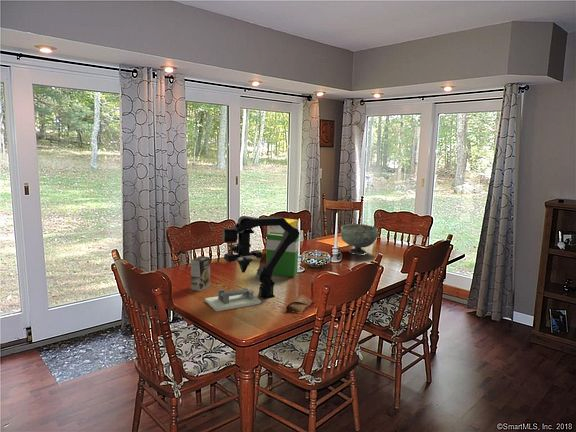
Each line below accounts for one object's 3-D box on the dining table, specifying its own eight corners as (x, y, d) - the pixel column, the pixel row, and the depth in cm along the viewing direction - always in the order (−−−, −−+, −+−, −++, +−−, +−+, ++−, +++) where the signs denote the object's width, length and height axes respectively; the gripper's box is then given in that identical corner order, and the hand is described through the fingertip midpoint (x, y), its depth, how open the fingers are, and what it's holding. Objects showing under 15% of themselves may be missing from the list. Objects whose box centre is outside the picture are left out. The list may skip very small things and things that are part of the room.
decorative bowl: (375, 249, 321) (376, 223, 318) (378, 259, 296) (380, 231, 293) (340, 248, 324) (340, 223, 320) (340, 258, 299) (341, 230, 295)
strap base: (248, 294, 218) (248, 283, 217) (260, 303, 206) (261, 291, 205) (205, 301, 206) (205, 289, 205) (216, 311, 194) (216, 299, 193)
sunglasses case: (302, 314, 195) (296, 301, 195) (290, 319, 198) (284, 306, 198) (316, 301, 211) (310, 289, 211) (304, 306, 214) (298, 294, 214)
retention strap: (247, 290, 212) (247, 288, 211) (251, 293, 208) (251, 291, 207) (219, 294, 204) (219, 291, 204) (223, 297, 200) (223, 294, 200)
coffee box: (201, 291, 219) (201, 261, 216) (190, 289, 221) (190, 259, 218) (210, 286, 227) (210, 257, 224) (199, 284, 229) (200, 255, 226)
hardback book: (265, 273, 253) (266, 234, 249) (269, 270, 260) (270, 231, 256) (294, 277, 249) (296, 237, 244) (297, 273, 256) (299, 234, 252)
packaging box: (297, 254, 299) (298, 220, 294) (287, 260, 284) (289, 223, 280) (276, 251, 305) (277, 217, 301) (266, 256, 290) (267, 220, 286)
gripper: (253, 237, 219) (252, 266, 222) (219, 239, 210) (219, 270, 212) (263, 241, 210) (262, 272, 213) (229, 245, 200) (228, 276, 203)
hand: (243, 272), depth 211 cm, fingers closed
